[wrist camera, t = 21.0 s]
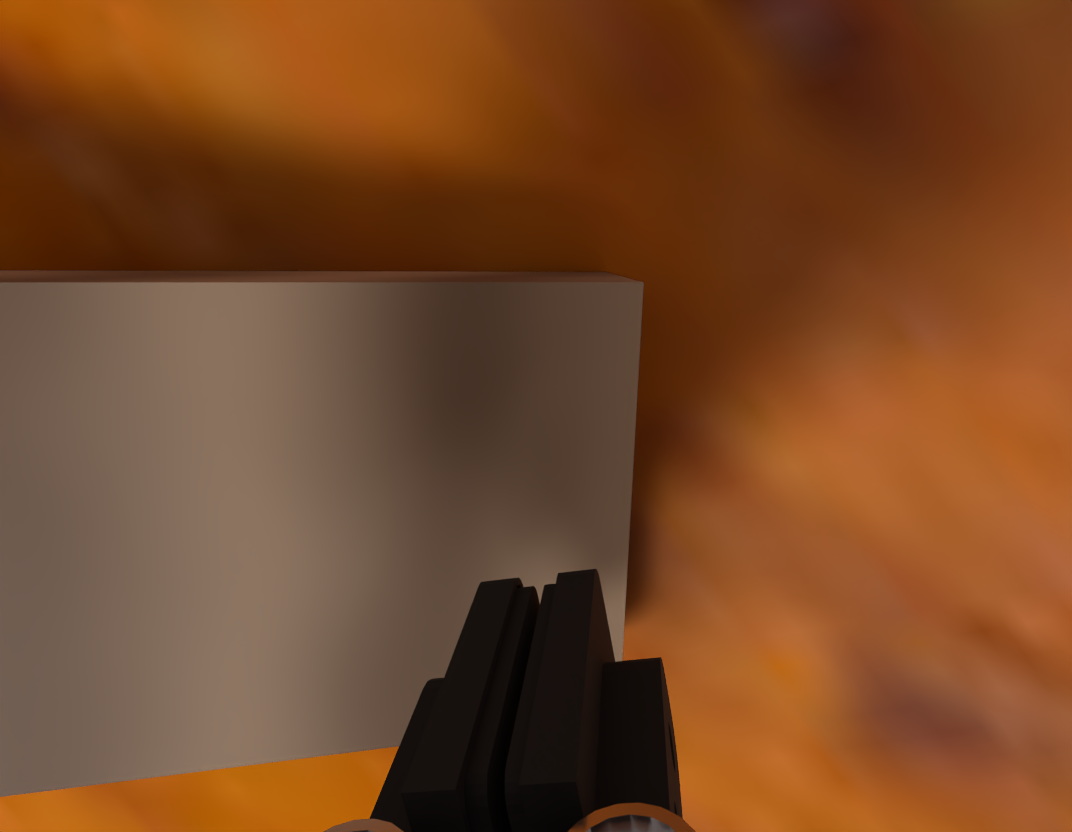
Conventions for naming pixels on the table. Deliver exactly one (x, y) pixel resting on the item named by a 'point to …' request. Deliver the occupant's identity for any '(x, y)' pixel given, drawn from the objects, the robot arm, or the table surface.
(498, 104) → the table surface
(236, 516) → the slab
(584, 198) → the table surface
